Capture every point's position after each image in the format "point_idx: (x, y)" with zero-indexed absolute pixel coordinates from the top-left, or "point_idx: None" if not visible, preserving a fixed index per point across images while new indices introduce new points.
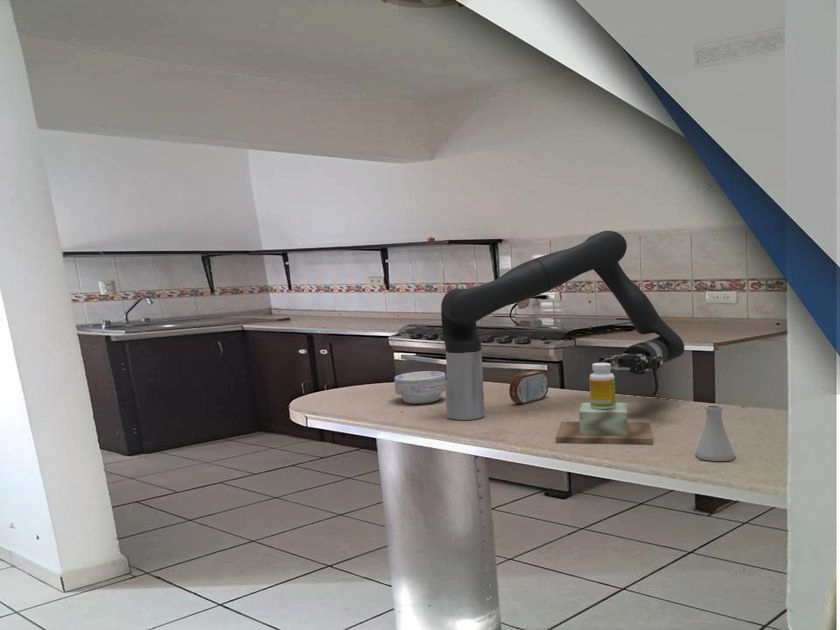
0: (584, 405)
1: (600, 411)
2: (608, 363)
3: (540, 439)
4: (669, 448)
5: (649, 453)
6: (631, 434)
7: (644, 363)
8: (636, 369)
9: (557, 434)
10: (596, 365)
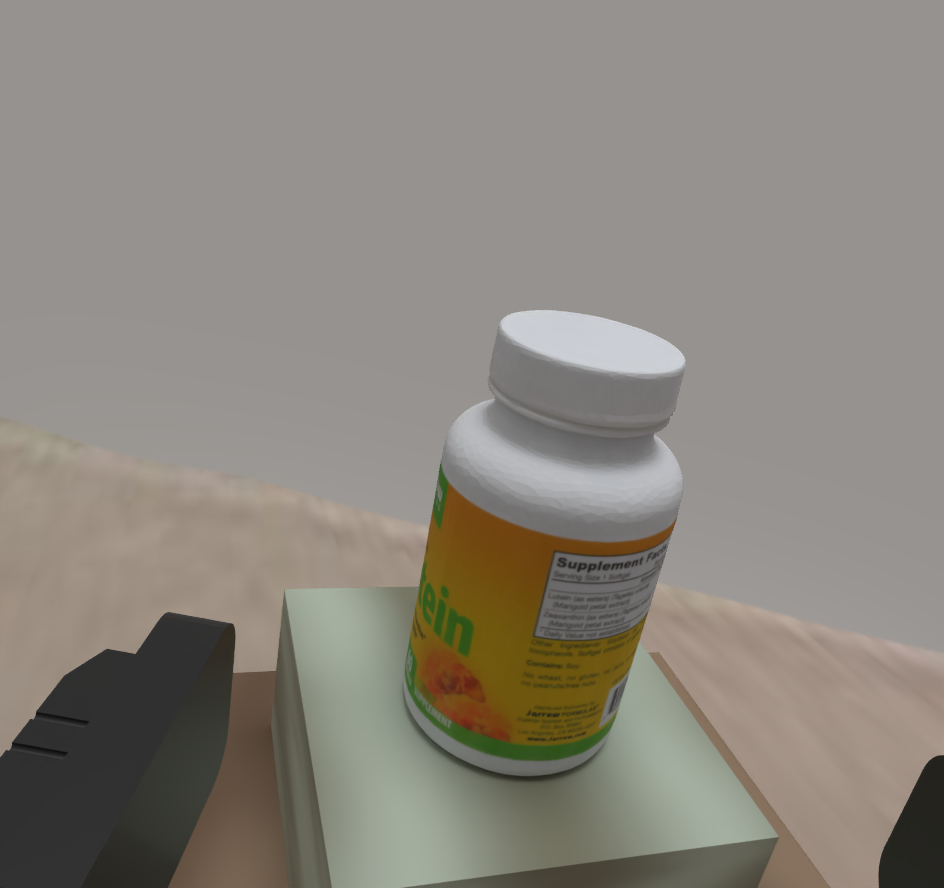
0: (683, 743)
1: None
2: (539, 345)
3: (766, 720)
4: (10, 660)
5: (144, 588)
6: (246, 747)
7: (17, 785)
8: (226, 708)
9: (686, 696)
10: (603, 320)
